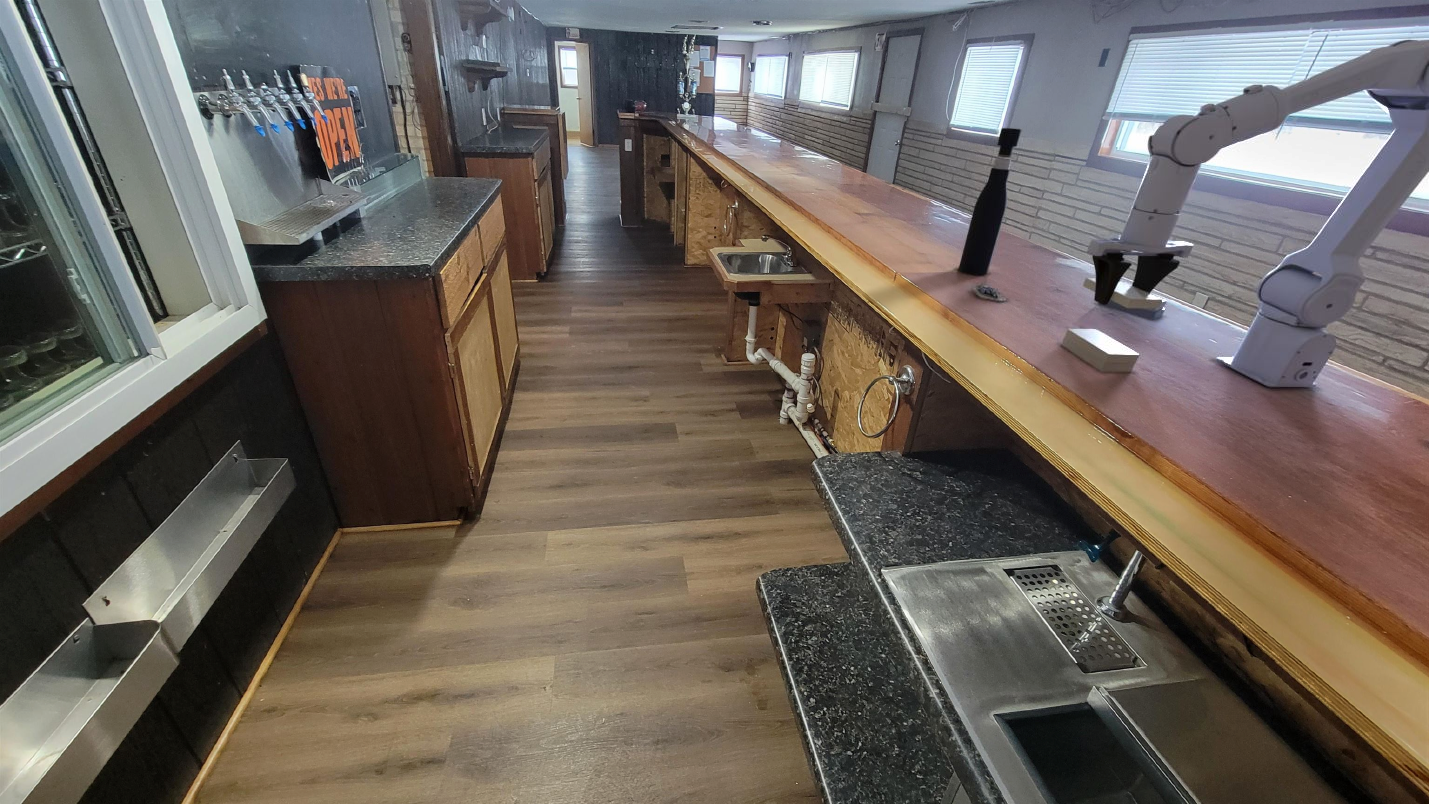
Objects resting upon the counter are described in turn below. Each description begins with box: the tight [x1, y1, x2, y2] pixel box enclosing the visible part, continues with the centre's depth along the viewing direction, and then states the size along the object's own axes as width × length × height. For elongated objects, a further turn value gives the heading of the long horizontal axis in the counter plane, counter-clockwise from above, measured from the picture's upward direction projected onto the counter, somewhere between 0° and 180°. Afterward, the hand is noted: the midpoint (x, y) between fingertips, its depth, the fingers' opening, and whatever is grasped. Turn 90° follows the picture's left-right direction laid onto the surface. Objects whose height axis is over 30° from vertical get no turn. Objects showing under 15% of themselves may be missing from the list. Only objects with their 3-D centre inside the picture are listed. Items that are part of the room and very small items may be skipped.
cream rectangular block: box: [1060, 328, 1140, 372], centre depth 90 cm, size 10×5×3 cm, turn 5°
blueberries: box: [970, 284, 1007, 302], centre depth 116 cm, size 7×8×2 cm
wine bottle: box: [958, 127, 1023, 276], centre depth 124 cm, size 6×6×30 cm
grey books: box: [1097, 298, 1168, 321], centre depth 111 cm, size 10×4×3 cm, turn 35°
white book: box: [1082, 277, 1163, 308], centre depth 85 cm, size 10×5×1 cm, turn 5°
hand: (1117, 302), depth 86 cm, fingers closed on white book, 5 cm apart
